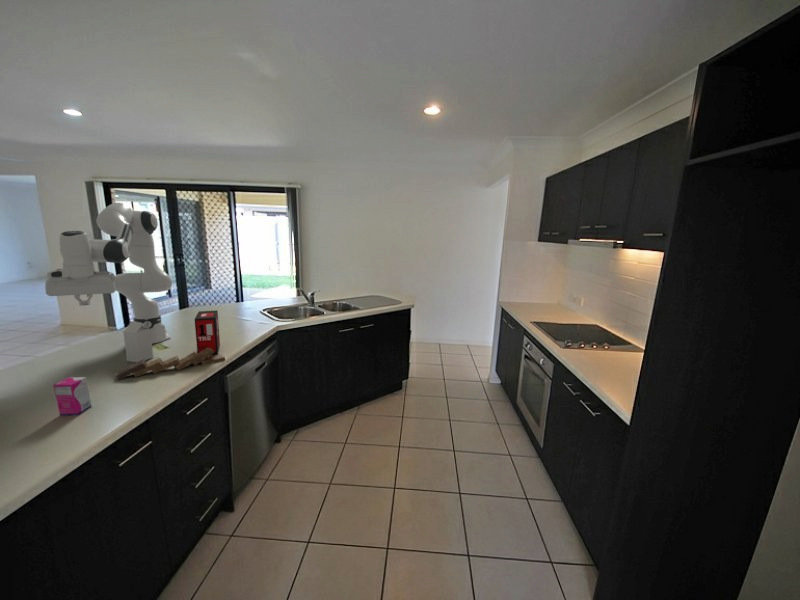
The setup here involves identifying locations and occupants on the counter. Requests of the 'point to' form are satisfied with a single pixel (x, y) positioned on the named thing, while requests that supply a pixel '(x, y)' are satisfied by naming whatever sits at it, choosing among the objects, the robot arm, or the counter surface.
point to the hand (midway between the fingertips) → (85, 305)
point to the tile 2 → (149, 367)
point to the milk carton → (137, 342)
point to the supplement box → (72, 396)
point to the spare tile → (131, 369)
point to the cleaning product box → (207, 331)
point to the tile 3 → (167, 364)
